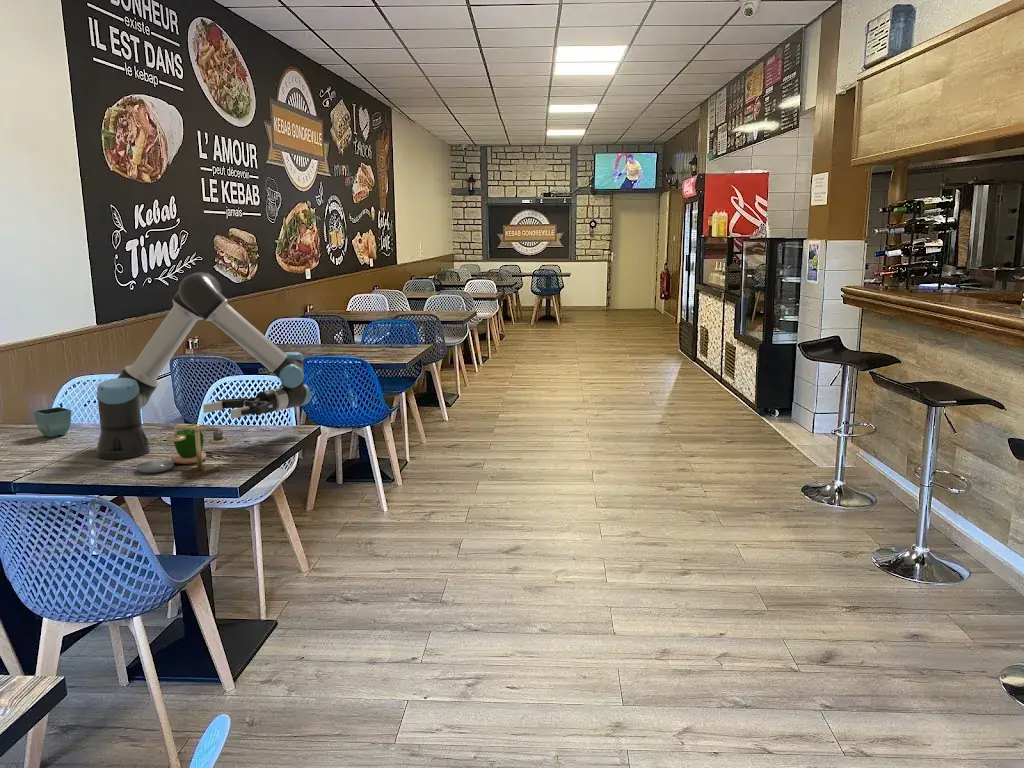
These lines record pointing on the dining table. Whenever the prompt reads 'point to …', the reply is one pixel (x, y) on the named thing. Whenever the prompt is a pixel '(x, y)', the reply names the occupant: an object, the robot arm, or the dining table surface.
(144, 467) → the slate dish
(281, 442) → the dining table surface
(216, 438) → the brass balance
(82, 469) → the dining table surface
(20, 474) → the dining table surface
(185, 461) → the terracotta dish
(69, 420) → the flower pot
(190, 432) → the bell pepper
